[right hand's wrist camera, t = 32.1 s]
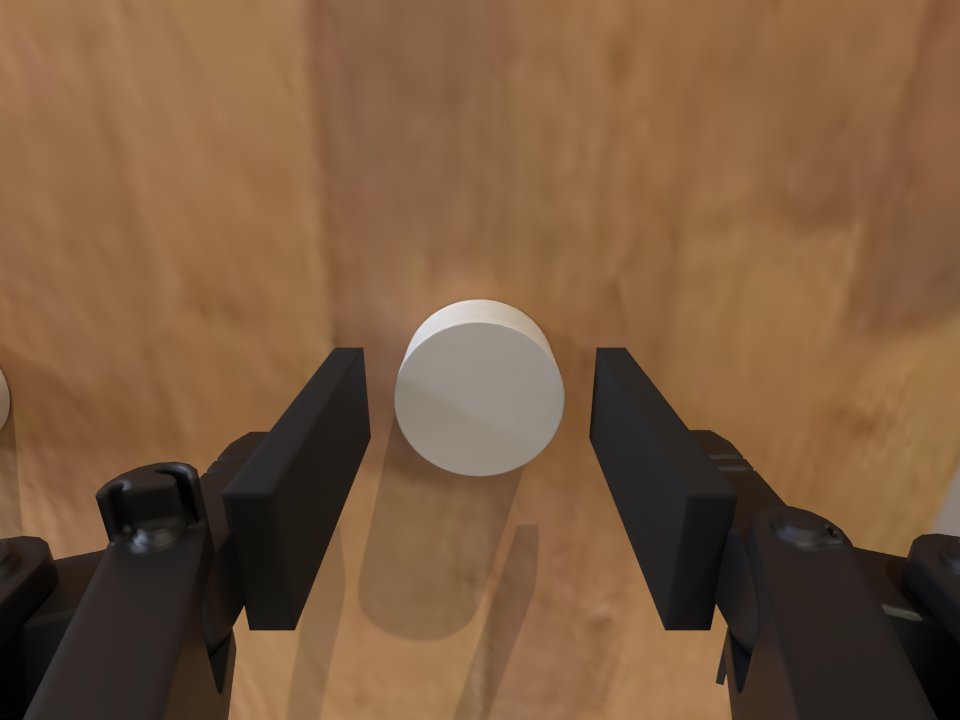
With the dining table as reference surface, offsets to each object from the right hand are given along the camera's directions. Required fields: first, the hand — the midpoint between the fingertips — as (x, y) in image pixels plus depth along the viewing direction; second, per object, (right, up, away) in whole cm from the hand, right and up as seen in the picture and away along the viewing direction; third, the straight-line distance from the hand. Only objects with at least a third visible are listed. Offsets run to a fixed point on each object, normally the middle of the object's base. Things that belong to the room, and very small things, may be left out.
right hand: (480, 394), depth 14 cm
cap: (0, 0, 0) cm, 0 cm away
